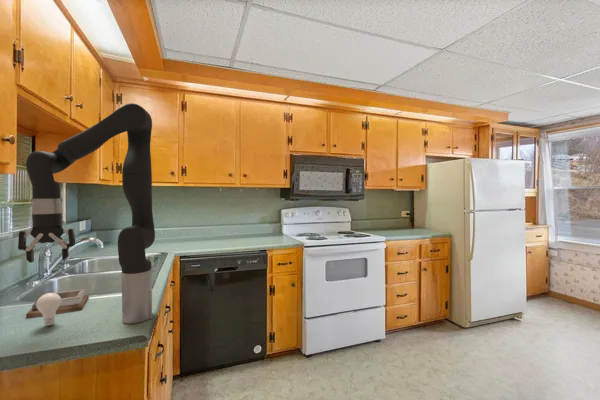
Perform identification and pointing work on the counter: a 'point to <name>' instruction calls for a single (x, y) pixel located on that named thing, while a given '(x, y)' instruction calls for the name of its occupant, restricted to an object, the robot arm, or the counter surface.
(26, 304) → the counter surface
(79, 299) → the jig
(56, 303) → the lightbulb
